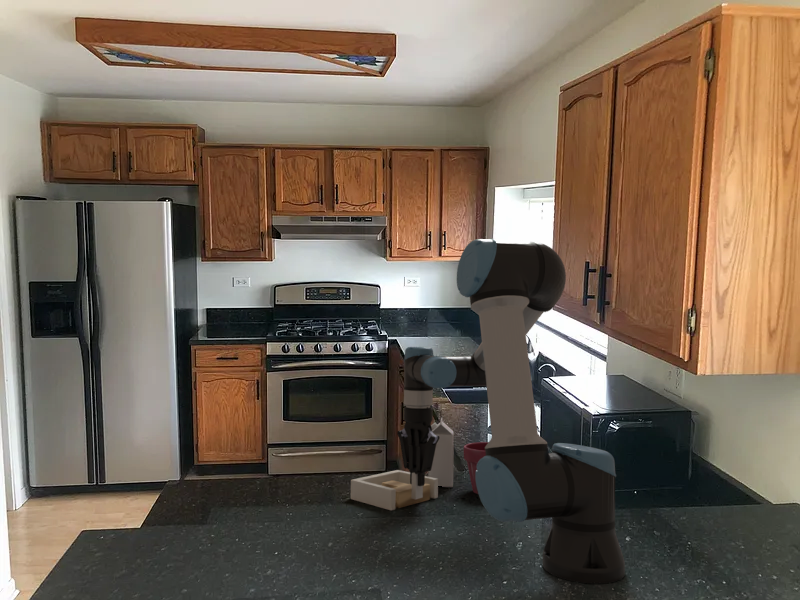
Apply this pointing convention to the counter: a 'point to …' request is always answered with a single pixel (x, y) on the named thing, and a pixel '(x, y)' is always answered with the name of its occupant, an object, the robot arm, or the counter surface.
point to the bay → (384, 488)
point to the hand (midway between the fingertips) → (417, 497)
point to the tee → (406, 493)
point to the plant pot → (474, 459)
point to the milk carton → (443, 455)
